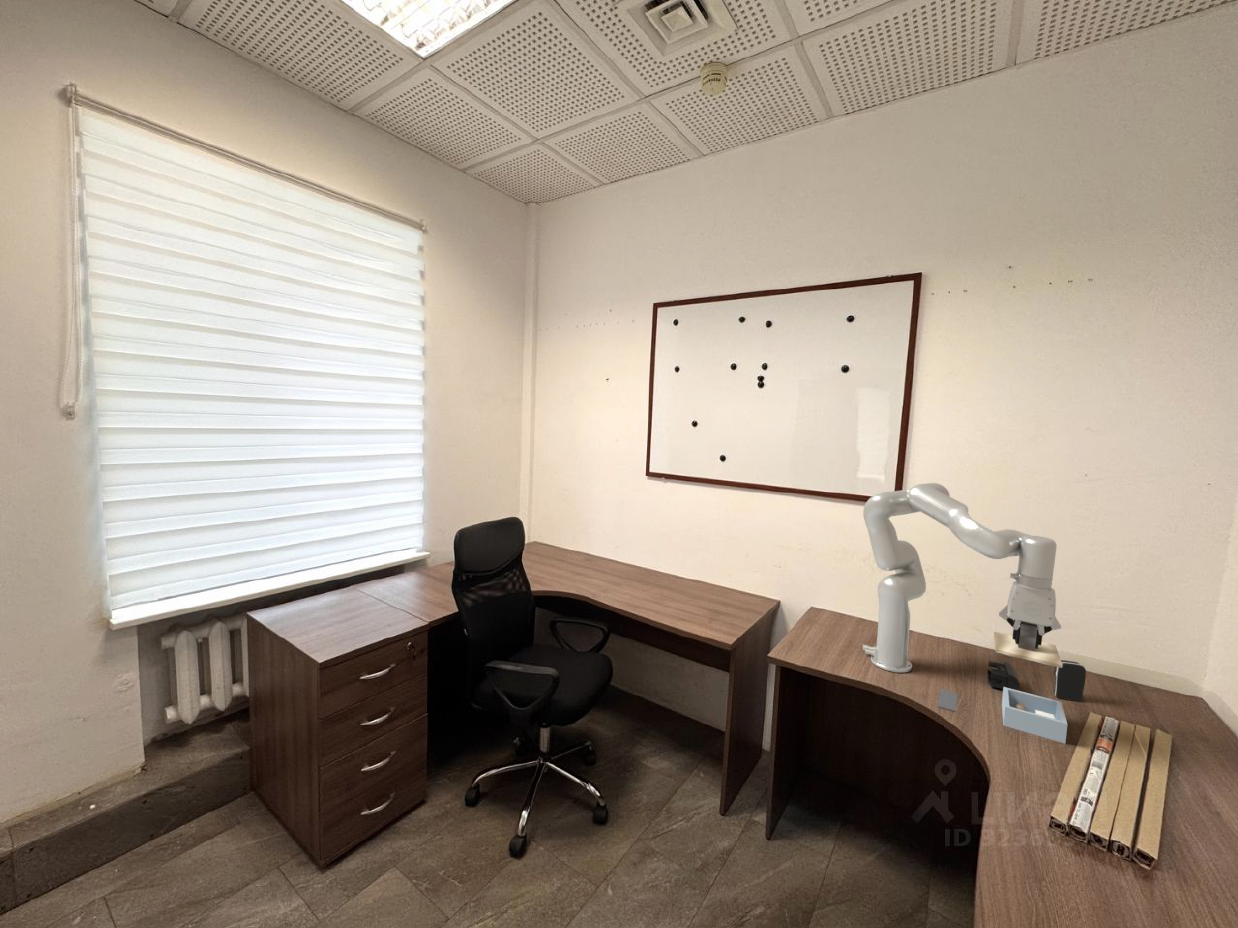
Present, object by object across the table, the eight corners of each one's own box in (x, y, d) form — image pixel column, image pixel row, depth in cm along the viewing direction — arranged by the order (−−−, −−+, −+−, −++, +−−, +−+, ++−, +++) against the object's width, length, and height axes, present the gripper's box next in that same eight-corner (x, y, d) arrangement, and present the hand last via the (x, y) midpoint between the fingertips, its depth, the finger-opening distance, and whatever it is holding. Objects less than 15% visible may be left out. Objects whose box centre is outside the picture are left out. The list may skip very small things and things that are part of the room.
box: (1003, 727, 140) (1005, 706, 140) (1001, 705, 151) (1003, 686, 150) (1065, 745, 133) (1067, 724, 132) (1058, 721, 143) (1061, 701, 143)
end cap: (1018, 698, 155) (1020, 677, 155) (990, 691, 159) (992, 670, 158) (1013, 683, 164) (1015, 663, 163) (986, 677, 167) (988, 657, 167)
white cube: (1035, 730, 138) (1036, 716, 138) (1033, 723, 141) (1035, 709, 141) (1054, 735, 136) (1055, 721, 135) (1052, 728, 139) (1054, 714, 139)
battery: (1076, 695, 157) (1080, 660, 156) (1083, 702, 153) (1087, 666, 152) (1049, 691, 159) (1053, 657, 158) (1055, 698, 155) (1059, 662, 154)
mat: (937, 706, 150) (937, 705, 149) (940, 689, 159) (940, 688, 159) (978, 719, 144) (979, 717, 144) (979, 700, 153) (979, 698, 153)
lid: (995, 655, 140) (998, 625, 139) (993, 637, 151) (996, 609, 150) (1061, 671, 132) (1065, 639, 131) (1054, 651, 143) (1058, 621, 142)
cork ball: (1013, 716, 144) (1014, 705, 144) (1012, 711, 147) (1013, 700, 147) (1027, 720, 142) (1028, 709, 142) (1026, 715, 145) (1027, 704, 145)
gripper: (997, 578, 141) (989, 641, 143) (1076, 591, 131) (1067, 658, 133) (996, 571, 147) (989, 631, 149) (1071, 584, 137) (1063, 648, 140)
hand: (1026, 643), depth 141 cm, fingers closed on lid, 3 cm apart
